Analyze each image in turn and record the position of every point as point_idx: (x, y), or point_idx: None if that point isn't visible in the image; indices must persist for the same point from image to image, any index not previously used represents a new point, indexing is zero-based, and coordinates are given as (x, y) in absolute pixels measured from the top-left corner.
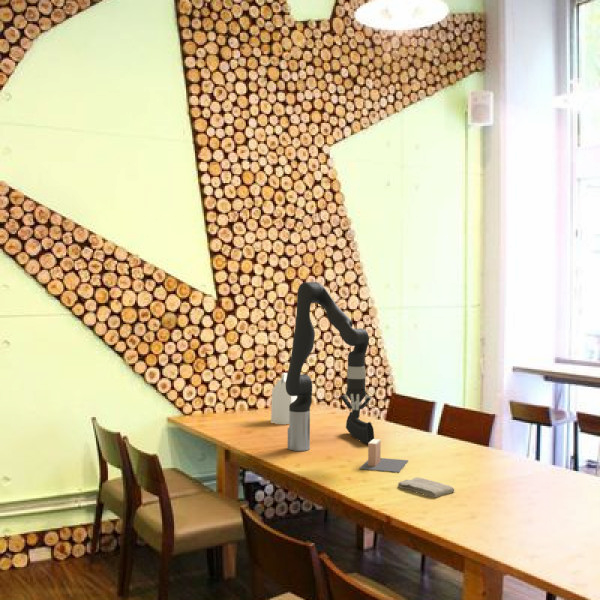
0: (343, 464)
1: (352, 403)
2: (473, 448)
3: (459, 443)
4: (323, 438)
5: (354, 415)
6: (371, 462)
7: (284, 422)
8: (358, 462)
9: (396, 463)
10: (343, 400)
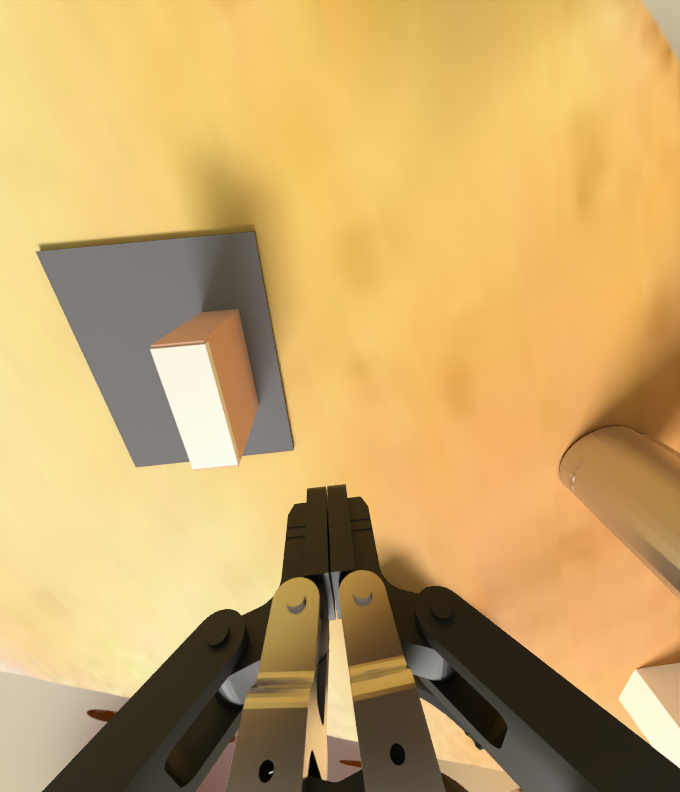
0: (363, 298)
1: (388, 692)
2: (62, 663)
3: (131, 684)
4: (527, 597)
5: (337, 512)
6: (216, 313)
7: (661, 672)
8: (312, 364)
9: (146, 401)
10: (635, 749)
